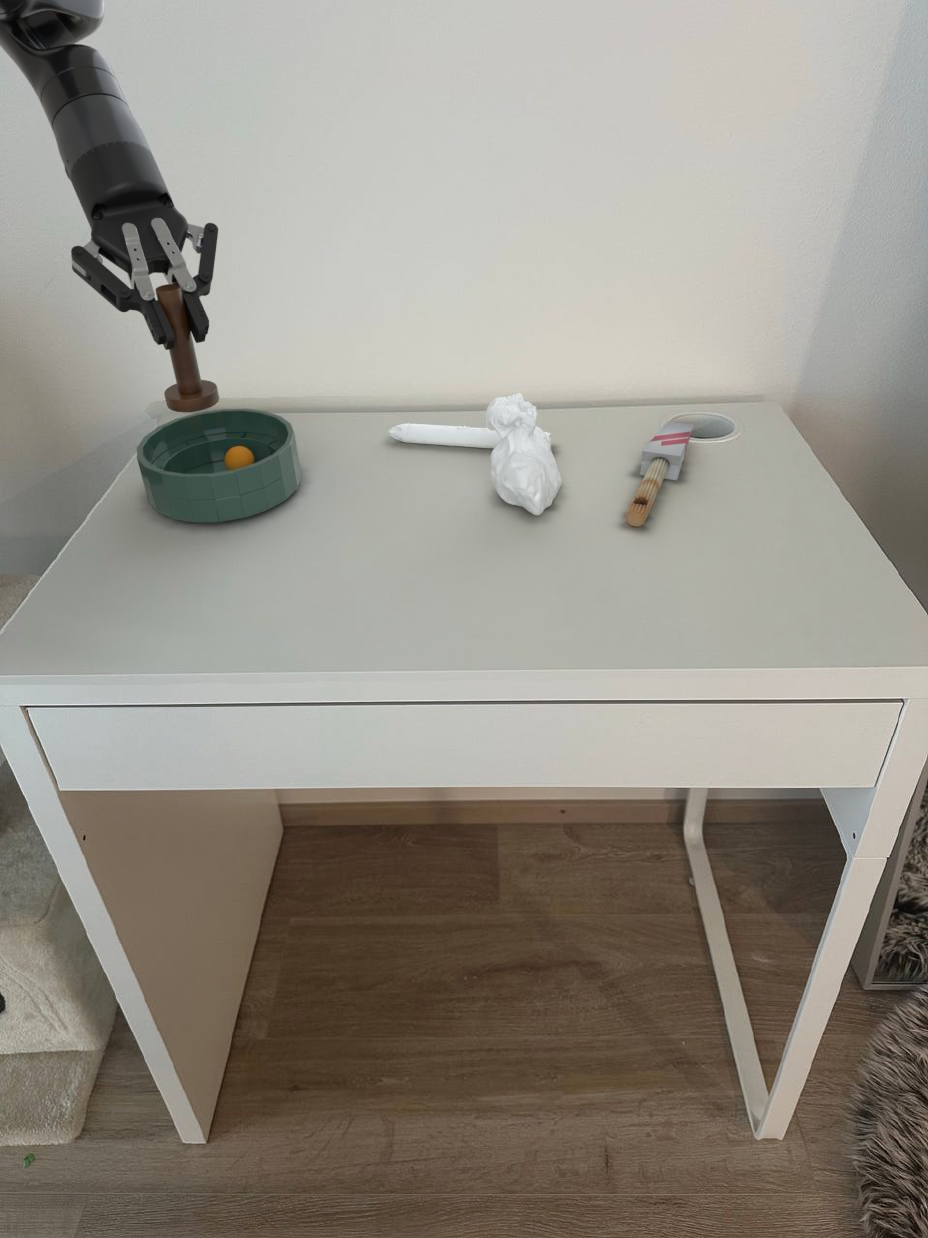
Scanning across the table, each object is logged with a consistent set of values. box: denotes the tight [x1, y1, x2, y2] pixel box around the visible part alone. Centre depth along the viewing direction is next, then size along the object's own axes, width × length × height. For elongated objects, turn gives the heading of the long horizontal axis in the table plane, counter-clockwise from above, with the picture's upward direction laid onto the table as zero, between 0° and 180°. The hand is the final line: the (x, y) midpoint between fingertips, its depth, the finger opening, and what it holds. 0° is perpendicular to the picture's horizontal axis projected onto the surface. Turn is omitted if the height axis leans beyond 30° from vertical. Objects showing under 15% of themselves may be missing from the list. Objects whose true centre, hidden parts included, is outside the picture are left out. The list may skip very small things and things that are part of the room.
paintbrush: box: [625, 421, 694, 528], centre depth 93 cm, size 4×3×20 cm
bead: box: [225, 446, 255, 470], centre depth 96 cm, size 3×3×3 cm
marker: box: [387, 422, 552, 450], centre depth 101 cm, size 18×2×2 cm, turn 77°
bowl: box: [136, 408, 302, 523], centre depth 94 cm, size 15×15×6 cm
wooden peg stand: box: [154, 283, 220, 413], centre depth 84 cm, size 5×5×10 cm
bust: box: [483, 392, 563, 516], centre depth 90 cm, size 12×8×11 cm
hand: (186, 340), depth 82 cm, fingers closed on wooden peg stand
